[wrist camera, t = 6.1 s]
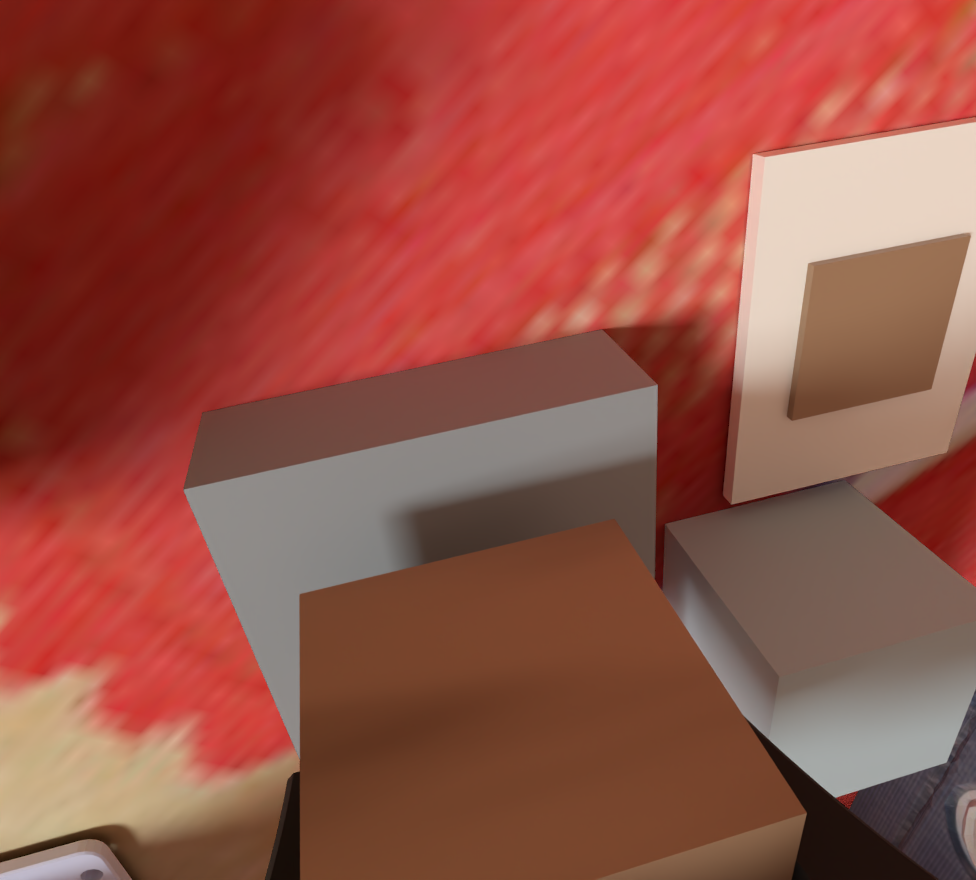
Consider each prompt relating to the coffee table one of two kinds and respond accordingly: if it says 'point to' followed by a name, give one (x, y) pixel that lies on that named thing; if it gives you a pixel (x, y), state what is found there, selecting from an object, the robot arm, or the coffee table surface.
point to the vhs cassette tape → (931, 809)
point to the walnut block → (527, 728)
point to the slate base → (418, 477)
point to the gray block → (829, 631)
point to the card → (853, 307)
